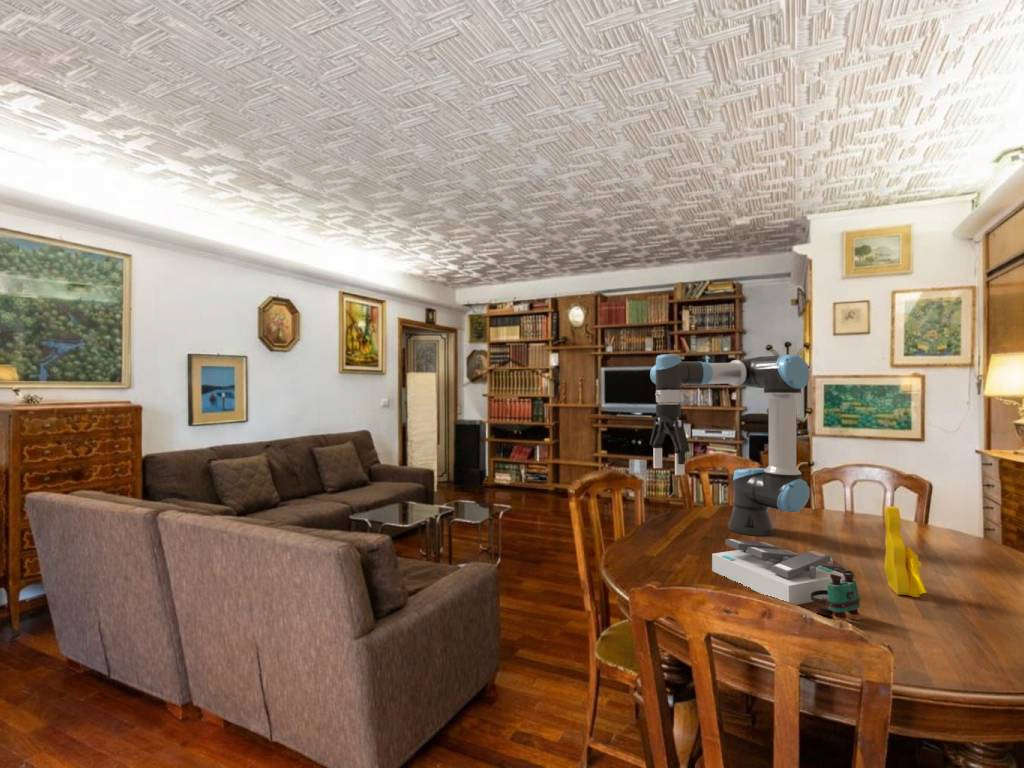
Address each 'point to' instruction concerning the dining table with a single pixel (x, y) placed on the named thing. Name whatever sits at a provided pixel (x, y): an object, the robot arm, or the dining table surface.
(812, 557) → the switch
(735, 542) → the switch
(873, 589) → the dining table surface
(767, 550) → the switch
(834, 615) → the binoculars
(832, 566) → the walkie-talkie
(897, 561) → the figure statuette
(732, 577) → the console
